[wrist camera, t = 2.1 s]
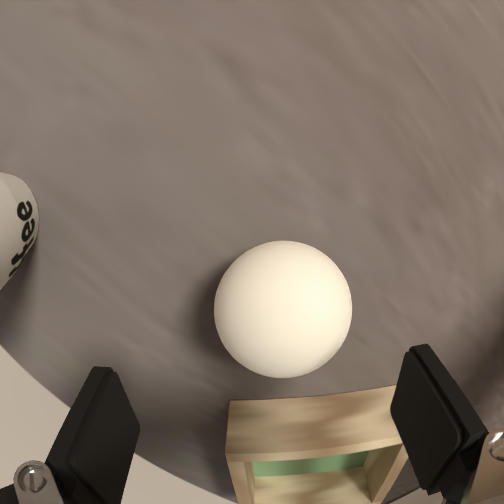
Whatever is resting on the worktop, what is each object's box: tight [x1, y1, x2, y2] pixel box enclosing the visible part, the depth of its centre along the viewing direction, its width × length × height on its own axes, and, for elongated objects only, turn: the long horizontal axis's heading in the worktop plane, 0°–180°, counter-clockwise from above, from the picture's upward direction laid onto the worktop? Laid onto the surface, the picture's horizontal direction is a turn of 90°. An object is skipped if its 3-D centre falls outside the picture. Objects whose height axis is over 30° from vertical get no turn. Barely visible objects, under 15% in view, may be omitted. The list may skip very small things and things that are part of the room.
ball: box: [214, 241, 352, 378], centre depth 14 cm, size 6×6×6 cm
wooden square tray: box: [225, 385, 408, 504], centre depth 20 cm, size 12×12×4 cm
